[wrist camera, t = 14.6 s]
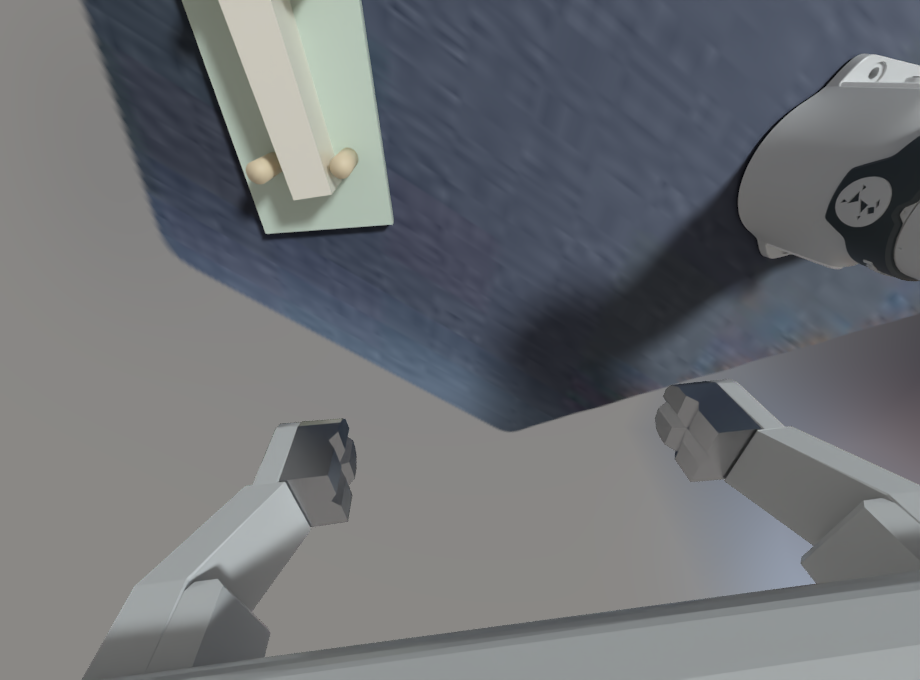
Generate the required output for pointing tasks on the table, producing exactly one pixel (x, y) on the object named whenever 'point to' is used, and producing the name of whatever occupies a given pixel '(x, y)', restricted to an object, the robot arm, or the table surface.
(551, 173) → the table surface
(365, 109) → the rack
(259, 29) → the off-white rectangular block
